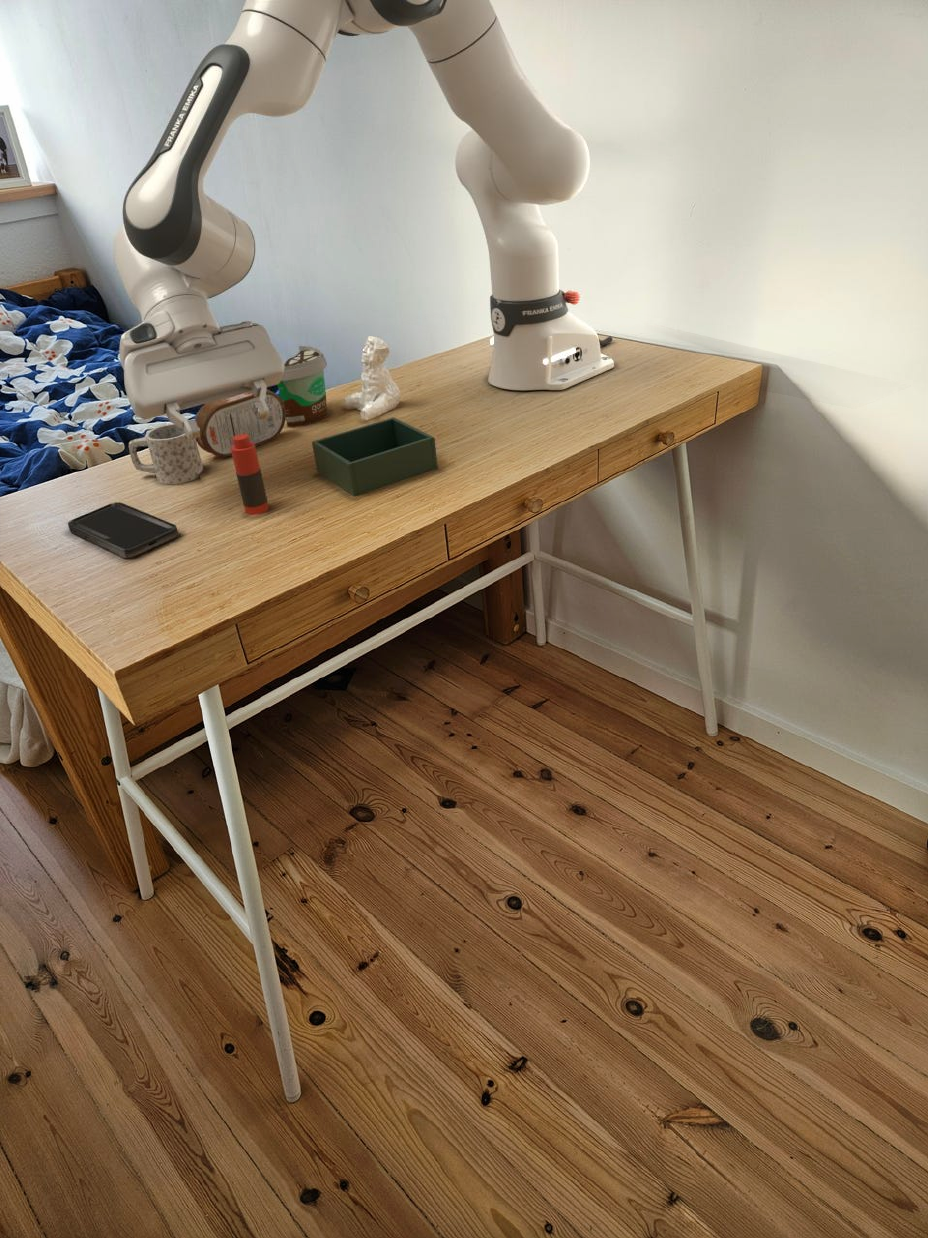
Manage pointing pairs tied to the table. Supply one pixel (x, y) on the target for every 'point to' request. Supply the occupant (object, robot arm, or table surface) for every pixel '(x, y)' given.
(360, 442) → the dark green open box
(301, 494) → the table surface
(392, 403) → the seated beast figurine
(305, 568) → the table surface
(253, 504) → the red and grey bottle
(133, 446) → the mug
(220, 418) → the tin
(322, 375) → the food container
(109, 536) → the phone
